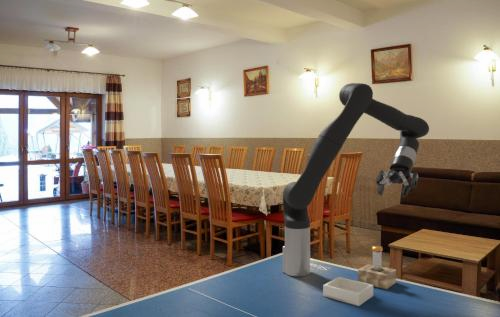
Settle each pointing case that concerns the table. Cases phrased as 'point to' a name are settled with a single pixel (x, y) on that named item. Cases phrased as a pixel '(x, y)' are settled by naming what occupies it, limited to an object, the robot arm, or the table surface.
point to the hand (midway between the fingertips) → (391, 195)
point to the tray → (348, 291)
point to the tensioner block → (377, 276)
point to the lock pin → (377, 258)
